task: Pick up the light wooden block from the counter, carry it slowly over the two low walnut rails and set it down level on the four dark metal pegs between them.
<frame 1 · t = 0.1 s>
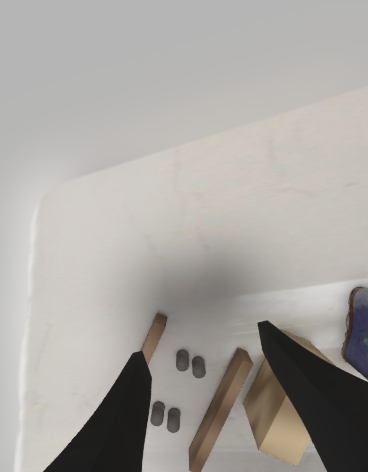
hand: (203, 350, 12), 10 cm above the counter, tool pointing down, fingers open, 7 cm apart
light wooden block: (275, 372, 23), on the counter
flask: (355, 324, 23), on the counter
peg frame: (178, 385, 23), on the counter
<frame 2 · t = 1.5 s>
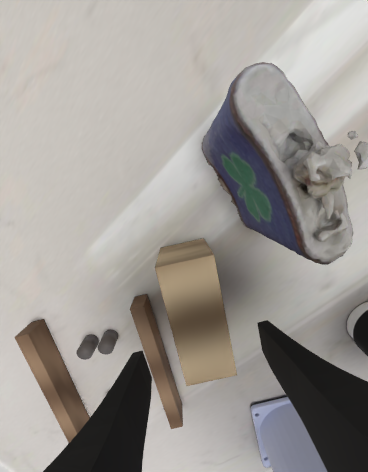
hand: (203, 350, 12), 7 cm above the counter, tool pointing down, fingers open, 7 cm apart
light wooden block: (193, 291, 19), on the counter
flask: (236, 183, 17), on the counter
dixie cup: (367, 320, 20), on the counter
peg frame: (112, 366, 20), on the counter
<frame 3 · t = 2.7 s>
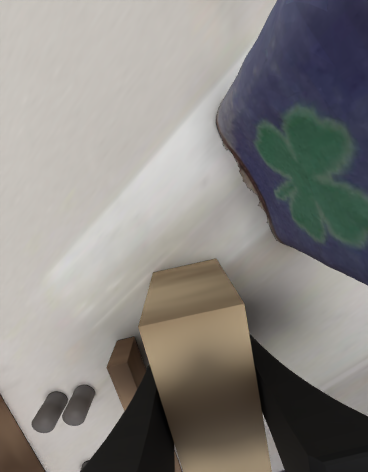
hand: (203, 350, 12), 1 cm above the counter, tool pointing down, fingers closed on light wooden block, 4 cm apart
light wooden block: (200, 333, 13), on the counter, touching gripper
flask: (266, 177, 11), on the counter
peg frame: (88, 432, 15), on the counter
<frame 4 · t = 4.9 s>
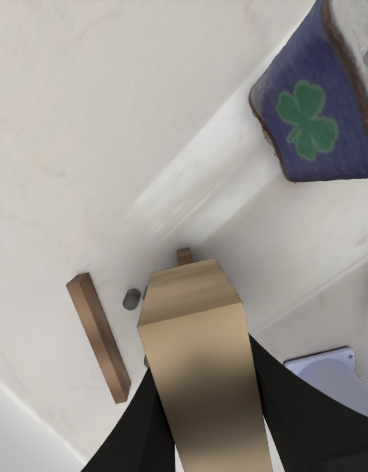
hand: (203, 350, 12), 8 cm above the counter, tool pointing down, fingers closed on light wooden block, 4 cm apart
light wooden block: (199, 332, 13), point 7 cm above the counter, touching gripper
flask: (279, 135, 17), on the counter
peg frame: (152, 321, 21), on the counter
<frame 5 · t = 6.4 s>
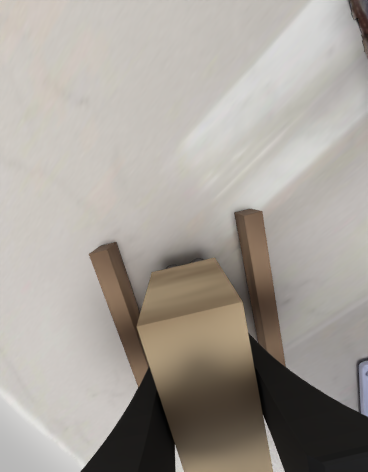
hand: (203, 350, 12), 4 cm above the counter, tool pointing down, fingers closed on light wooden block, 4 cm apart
light wooden block: (199, 332, 13), point 3 cm above the counter, touching gripper
peg frame: (196, 309, 16), on the counter
when the fingers open (4 cm above the counter, at t = 7.3 s): light wooden block stays where it is, resting on peg frame.
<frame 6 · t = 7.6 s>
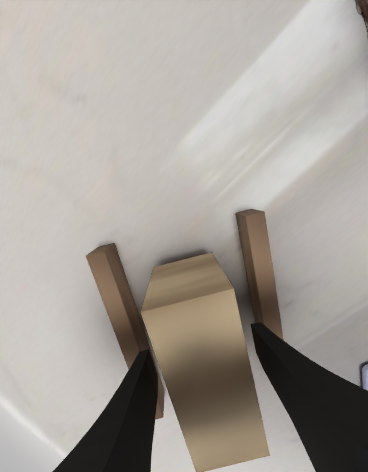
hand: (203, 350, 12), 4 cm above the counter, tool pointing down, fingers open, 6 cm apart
light wooden block: (199, 323, 14), point 1 cm above the counter, touching peg frame
peg frame: (196, 311, 16), on the counter
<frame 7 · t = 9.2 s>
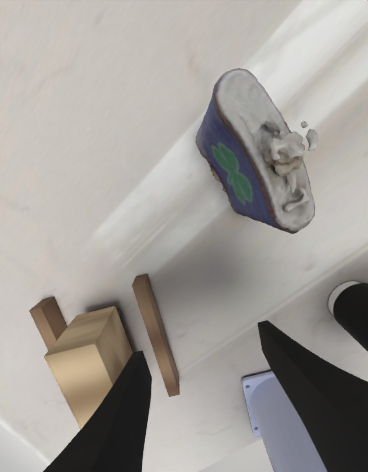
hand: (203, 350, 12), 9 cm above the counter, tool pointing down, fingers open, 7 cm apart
light wooden block: (112, 351, 21), point 1 cm above the counter, touching peg frame
flask: (227, 173, 19), on the counter
dixie cup: (346, 299, 23), on the counter
peg frame: (115, 341, 22), on the counter
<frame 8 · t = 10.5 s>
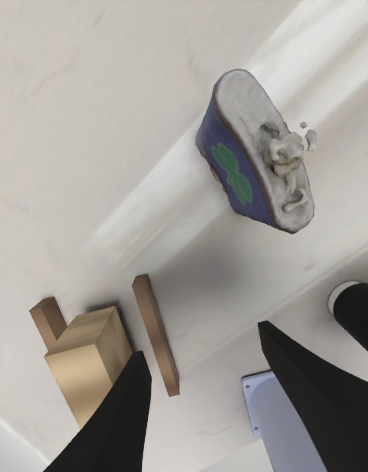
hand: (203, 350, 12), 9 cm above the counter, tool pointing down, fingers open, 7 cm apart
light wooden block: (112, 351, 21), point 1 cm above the counter, touching peg frame
flask: (227, 173, 19), on the counter
dixie cup: (346, 299, 23), on the counter
peg frame: (115, 341, 22), on the counter
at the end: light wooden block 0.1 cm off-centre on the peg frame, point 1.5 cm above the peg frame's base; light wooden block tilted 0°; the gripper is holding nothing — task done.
